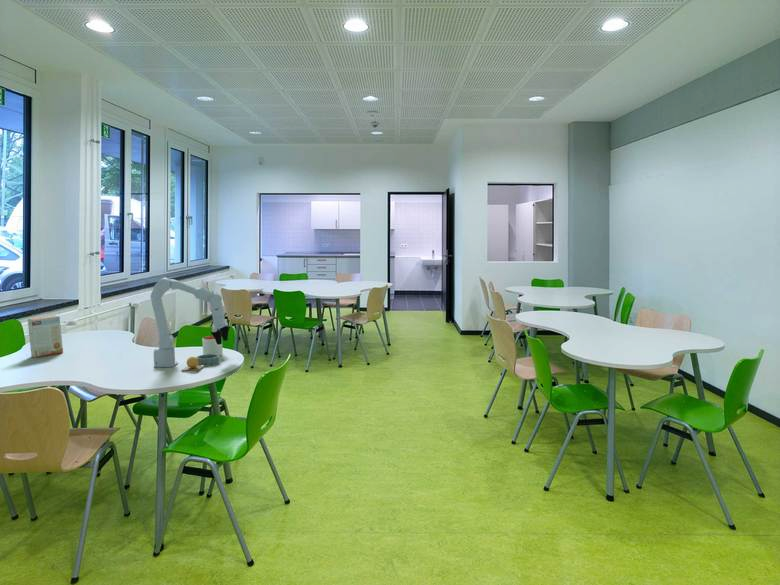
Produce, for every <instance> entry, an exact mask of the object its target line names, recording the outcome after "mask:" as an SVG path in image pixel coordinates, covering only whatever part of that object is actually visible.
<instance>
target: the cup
mask: <svg viewBox="0 0 780 585" xmlns="http://www.w3.org/2000/svg"><path fill="white" fill-rule="evenodd" d="M201 341H202V355H205V354H216V355H218V356H219V357H221V356H222V355H223V343H222V344H218V345H217V343H216V340H215V338H214V337H213V335H211V336H209V335H208V336H204V337H202V340H201Z"/></svg>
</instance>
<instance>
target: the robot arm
mask: <svg viewBox="0 0 780 585" xmlns="http://www.w3.org/2000/svg"><path fill="white" fill-rule="evenodd" d="M170 289H171V291H173V290H179V291H182V292H183V291H184V292H186V293H189V294H192V295H193V296H194V297H195V298H196V299H198V300H200V301H204V302H205V303H209V304H210V306H211V310H210V311H211V316H212V321H213V327H212V328H211V331H210V334H211V336H213V337H214V338H215V340H216V343H217V345H218V344H222V345H223V342H225V341H228V340H229V331H230V329H231V326H230V325H229V324H228V321H226V318H225V312H224V307H223V302H222V300H223V298H222V295H221V294H219V293H218V292H215V291H213V290H212V291H211V290H209V289H206V288H205V287H203V286H202V287H200V286H199V287H198V288H195V287H194V286H191V285H189V284H187V283H184V282H182V281H179V280H178V279H177V280H176V279H175V278H174V279H173V278H169V277H162V278H161V279H159V280H158V281H157V282H156V283H155V284H154V287H153V289H152V290H151V294H150V300H151V305H152V308H153V313H154V317H155V322H156V325H157V330H158V343H157V344H158V346H159V347H156V348H155V349H154V351H153V368H173V367H175V366H176V365H178V364H179V362H178V361H176V352H175V345H173V344H174V341H175V338H174V335H172V333H171V329H170V327H169V325H168V320H167V315H166V311H165V307H164V303H163V299H162V297H163V296H165V293H167V292H168V291H169V290H170Z"/></svg>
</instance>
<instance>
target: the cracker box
mask: <svg viewBox="0 0 780 585" xmlns="http://www.w3.org/2000/svg"><path fill="white" fill-rule="evenodd" d="M27 327H28V336H29V346H30V354H31V355H30V356H31V357H32V358H35V359H37V358H41V357H47V356H53V354H54V355H58V353H59V354H63V353H64V350H63V349H64V348H63V338H62V337H63V336H62V328H61V318H60V316H59V315H51V316H41V317H36V318H29V319H27Z"/></svg>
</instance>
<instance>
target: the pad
mask: <svg viewBox="0 0 780 585" xmlns="http://www.w3.org/2000/svg"><path fill="white" fill-rule="evenodd" d="M203 367H204V368H205V366H199V365H197V367H195V368H190V367H188V366H187V365H186V367H184V368H182V369H181V372H182V371H198V372H199V370H200V369H201V370H202V369H204V368H203ZM201 370H200V371H201Z"/></svg>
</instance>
